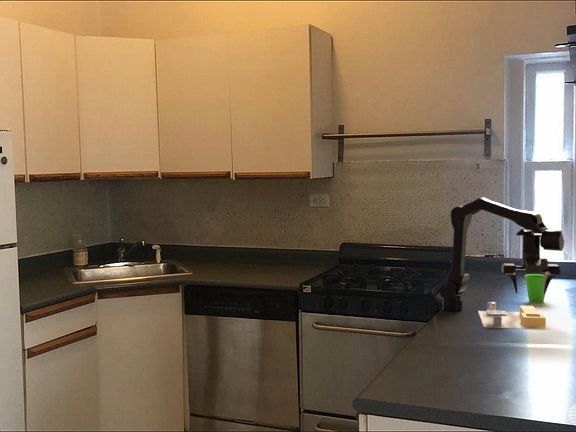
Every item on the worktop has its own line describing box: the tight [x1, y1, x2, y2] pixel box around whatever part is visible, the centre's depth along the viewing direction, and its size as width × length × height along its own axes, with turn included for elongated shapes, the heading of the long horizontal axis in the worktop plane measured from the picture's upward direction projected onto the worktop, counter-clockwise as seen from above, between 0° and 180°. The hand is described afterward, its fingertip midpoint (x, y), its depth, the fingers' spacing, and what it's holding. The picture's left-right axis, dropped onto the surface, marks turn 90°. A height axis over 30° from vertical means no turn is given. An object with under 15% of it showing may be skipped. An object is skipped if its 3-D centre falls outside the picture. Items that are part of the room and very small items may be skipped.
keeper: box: [485, 309, 507, 327], centre depth 234 cm, size 7×6×4 cm
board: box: [477, 310, 551, 330], centre depth 241 cm, size 21×25×1 cm
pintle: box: [487, 301, 497, 310], centre depth 250 cm, size 3×3×4 cm
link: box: [519, 305, 547, 327], centre depth 240 cm, size 19×7×3 cm, turn 169°
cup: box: [524, 273, 546, 304], centre depth 270 cm, size 9×9×11 cm
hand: (530, 293), depth 240 cm, fingers open, 9 cm apart
